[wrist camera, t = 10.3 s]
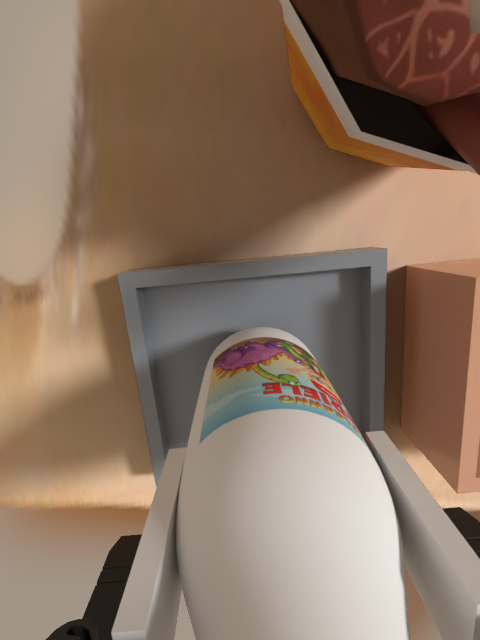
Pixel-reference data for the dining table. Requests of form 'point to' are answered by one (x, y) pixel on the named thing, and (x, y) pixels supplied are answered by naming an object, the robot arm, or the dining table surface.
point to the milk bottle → (284, 505)
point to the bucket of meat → (390, 78)
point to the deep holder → (444, 368)
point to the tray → (248, 312)
